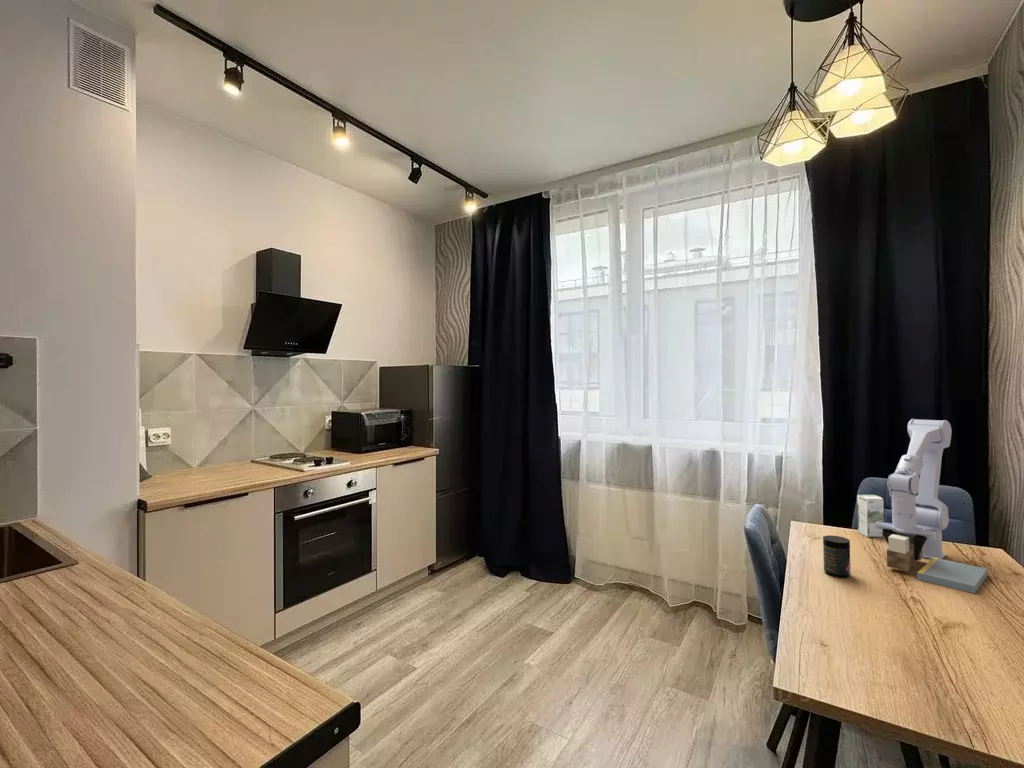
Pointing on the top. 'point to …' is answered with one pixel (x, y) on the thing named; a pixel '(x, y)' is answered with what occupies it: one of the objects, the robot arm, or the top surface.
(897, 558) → the brown piece
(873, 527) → the syrup box
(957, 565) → the dock
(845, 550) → the supplement container
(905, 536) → the gray cube
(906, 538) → the cream block
